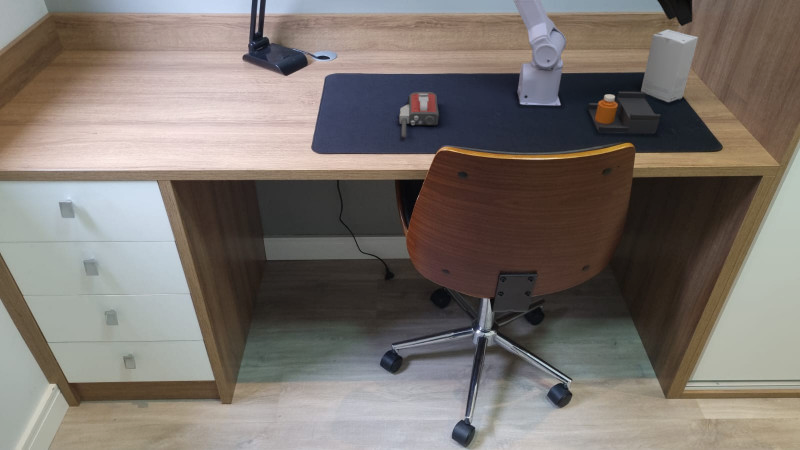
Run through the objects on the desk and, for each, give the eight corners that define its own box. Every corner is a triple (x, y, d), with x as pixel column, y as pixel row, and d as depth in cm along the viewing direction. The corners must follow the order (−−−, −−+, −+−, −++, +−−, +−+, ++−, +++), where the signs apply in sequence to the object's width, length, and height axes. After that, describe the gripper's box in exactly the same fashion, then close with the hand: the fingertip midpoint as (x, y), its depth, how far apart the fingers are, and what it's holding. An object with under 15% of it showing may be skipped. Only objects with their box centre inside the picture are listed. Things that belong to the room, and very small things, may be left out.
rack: (597, 134, 122) (602, 114, 119) (587, 110, 131) (591, 90, 128) (654, 135, 121) (660, 115, 118) (640, 111, 131) (645, 91, 128)
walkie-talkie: (400, 102, 136) (398, 142, 120) (400, 84, 133) (398, 123, 117) (436, 102, 135) (440, 142, 119) (437, 84, 133) (440, 123, 117)
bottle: (596, 123, 125) (602, 100, 121) (593, 115, 128) (598, 92, 124) (615, 124, 124) (621, 100, 121) (611, 115, 128) (617, 92, 124)
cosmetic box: (682, 98, 136) (701, 37, 127) (666, 105, 133) (685, 42, 124) (652, 87, 141) (669, 27, 132) (637, 92, 139) (653, 32, 130)
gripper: (696, -54, 103) (714, 16, 108) (671, -57, 116) (688, 6, 121) (656, -35, 105) (676, 33, 110) (636, -40, 118) (654, 21, 123)
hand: (680, 20), depth 116 cm, fingers open, 7 cm apart
